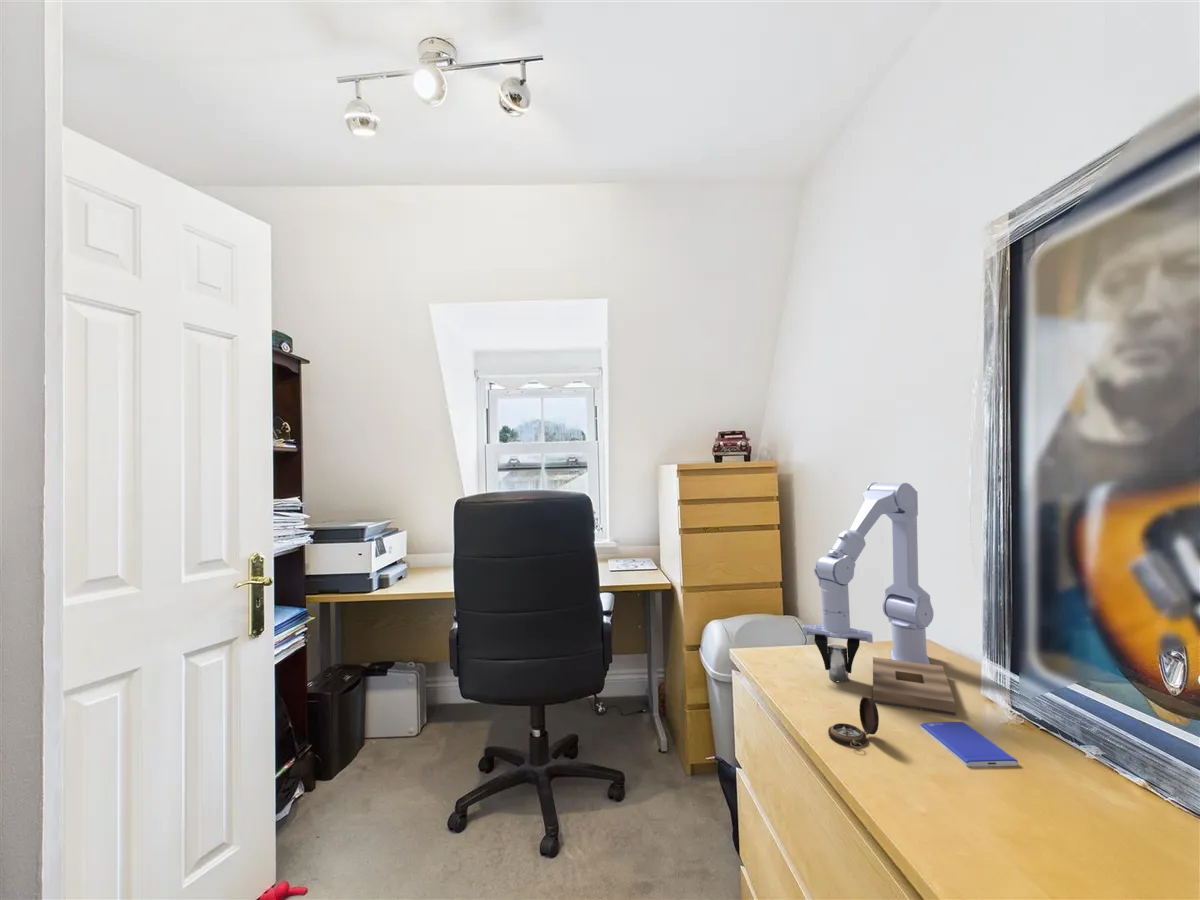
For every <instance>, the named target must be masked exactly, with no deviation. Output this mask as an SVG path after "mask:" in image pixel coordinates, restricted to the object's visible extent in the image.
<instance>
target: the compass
mask: <svg viewBox="0 0 1200 900" xmlns="http://www.w3.org/2000/svg"><path fill="white" fill-rule="evenodd" d="M859 701H860V702H859V708H858V709H859V719H860V723H861V726H862V729H863V730H861V729H860V728H859V727H857V726H856V725H854V724H850V723H843V722H841V723H839V722H838V723H835V724H833V725H831V726H830V727H828V736H829V737H830V738H831V739H832V740H833V741H835V742H837V743H838V744H842V745H845V746H851V747H853V748H855V749H860V748H861V749H862V747H863V745H864V744H866V742H867V736H868V735H875V734H876V733H877V732H878V729H879V722H880V720H879V718H880V716H879V711H878V710H879V709H878V706H877V703H876V702H874V700H873V697H871V696H869V695H863V696H862V697H861V698H860V700H859Z"/></svg>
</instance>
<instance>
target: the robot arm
mask: <svg viewBox="0 0 1200 900" xmlns="http://www.w3.org/2000/svg"><path fill="white" fill-rule="evenodd" d="M918 498H919V497H918V491H917V490H916V489H915V488H914V487H913V485H912V484H910V483H908V482H902V483H898V482H897V483H896V482H894V483H893V482H891V483H890V482H885V483H884V482H871V483H869V484H868V485H867V487H866V489H865V491H864V492H863V493H862V499H863V503H862V506H861V507H860V509H859V511H858V513H857V515H856V517H855V519H854V520H853V523H852V525H851V527H850V528H849V529H848V530H843V531H841V532H840V533H839V535H838V537H837V539H836V541H835V542H834V543H833V545H832V547H831V548H830V549H829V550H828V553H827V554H826V555H823V556H822V557H820V558H819V559H818V560H817V561H816V564H815V568H813V570H814V571H813V572H814V575H815V576H816V578H817V581H818V586H819V588H820V593H821V614H822V617H821V618H822V624H814V625H813V624H803V625H802V628H801V629H802V630H801V631H802V632H801V633H802V636H808V635H809V636H814V643H815V645H816V647H817V649H818V651H819V653H820V655H821V657H822V661H823V664H824V669H825V671H829V662H828V646H829V645H828V644H829V643H828V640H829V639H828V638H834V639H844V640H847V641H846V648H847V659H848V674H852V668H853V663H854V661H855V660H854V659H855V656H856V654H857V652H858V650H859V648H860V642H866V643H869V644H873V642H874V641H873V638H874V637H873V631H870V630H869V631H868V630H863V629H856V628H852V627H851V619H850V618H851V617H850V598H849V583H851V581H852V580H853V579H854V576H855V568H856V561H857V560H858V558H859V556H860V555H861V553H862V552H863V550H864V549H865V547H866V540H865V537H866V536H867V534H868V533H869V531H870V530H871V529H872V528H873V527H874V525H875V524H876V522H878V520H879V518H880V517H882V516H883V515H886V516H887V517H888V518H889V519H891V522H892V523H891V526H892V527H891V529H892V530H891V531H892V532H891V533H892V572H893V573H892V578H893V579H892V580H893V583H892V584H891V585H889V586H888V587H886V588H885V589H884V598H883V601H882V612H883V614H884V615H885V616H886V617H887V618H888V623H889V622H890V623H891V640H892V642H891V643H892V645H891V646H892V649H890V658H891V659H892V660H900V661H908V662H916V663H924V664H931V663H930V659H929V657H928V653H927V634H926V633H927V631H926V628H929V625H930V624H931V623H932V622H933V619H934V616H935V615H934V609H933V605H932V603H931V595H930V594H929V593H928V592H927V591H926V590H925V589H923V587H921V586H920V585H919V550H918V547H919V546H918V545H919V544H918V515H919V508H918V506H919V505H918V501H919V500H918Z"/></svg>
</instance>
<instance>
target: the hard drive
mask: <svg viewBox="0 0 1200 900" xmlns="http://www.w3.org/2000/svg"><path fill="white" fill-rule="evenodd" d="M919 725H920V726H919V727H920V728H921V729H920V728H919V729H920V730H922V731H923V730H924V731H925V732H926V733H925V732H924V731H923V732H924V733H925V734H927V735H928V736H929V738H931V739H933V740H934V741H935V742H936V743H937V744H939V745H940V746H941V747H943V749H944V750H946V751H947V752H948V753H950V754H951V755H952V756H953V757H954V758H955V759H957V760H958V761H959V762H961V763H962V764H963V765H964V766H965V767H967V768H968V767H969V766H971V767H969V768H973V767H975V766H977V767H1009V766H1010V767H1012V766H1013V767H1014V766H1017V765H1018V766H1019V763H1018V762H1019V761H1018V760H1017V759H1016V758H1014V757H1013V756H1012V755H1011V754H1009V753H1007V752H1006V751H1005V750H1004V749H1002V748H1000V747H999V746H998V745H997V744H995V743H993V741H991V740H989V739H988V738H987V737H985V736H984V735H983V734H981V733H980V732H978V731H977V730H976V729H974V728H973V727H972V726H970V725H968V724H967V723H965V722H964V721H944V722H943V721H941V722H940V721H939V722H937V721H935V722H934V721H933V722H921V723H920V724H919Z"/></svg>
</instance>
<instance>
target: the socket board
mask: <svg viewBox="0 0 1200 900" xmlns="http://www.w3.org/2000/svg"><path fill="white" fill-rule="evenodd" d="M947 677H948V676H947V673H946V672H945V668H944V667H943V665H939V664H932V663H930V664H924V663H916V662H908V661H900V660H892V659H890V658H882V657H875V656H873V657H872V694H873V697H872V699H873V700H874V702H875V704H877V703H878V704H883V705H888V706H889V705H890V706H895V707H896V706H897V707H901V708H902V707H903V708H908V709H909V708H910V709H914V708H916V709H915V710H920V709H922V711H926V710H927V712H933V713H938V714H947V715H951V714H952V716H956V715H957V713H956V712H957V711H956V701H955V698H954V695H953V692H952V688H951V686H950V684H949V680H948V678H947Z"/></svg>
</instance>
